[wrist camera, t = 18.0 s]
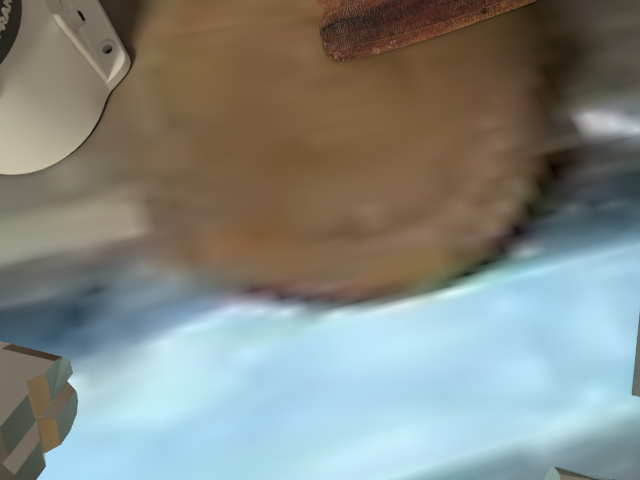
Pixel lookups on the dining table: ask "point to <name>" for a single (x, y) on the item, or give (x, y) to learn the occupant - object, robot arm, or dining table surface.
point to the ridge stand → (637, 367)
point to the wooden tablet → (397, 22)
